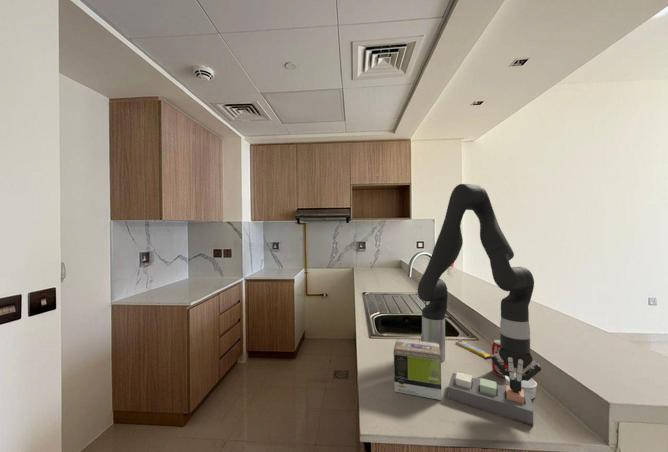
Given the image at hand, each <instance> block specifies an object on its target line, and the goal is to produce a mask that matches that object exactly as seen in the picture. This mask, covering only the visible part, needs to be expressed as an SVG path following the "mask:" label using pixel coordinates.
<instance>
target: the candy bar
mask: <svg viewBox="0 0 668 452" xmlns="http://www.w3.org/2000/svg"><path fill="white" fill-rule="evenodd" d="M455 345H457V346H459V347H461V348H463V349H465V350H467V351H469V352H471V353H473V354H475V355H478V356H480V357H481V358H489V357H492V354H490V353H488V352H486V351H484V350H482V349H479V348H478V347H475V346H473V345H471V344H468V343H466V342H463V341H462V340H457V341H455Z"/></svg>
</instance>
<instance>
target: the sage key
mask: <svg viewBox="0 0 668 452" xmlns="http://www.w3.org/2000/svg"><path fill="white" fill-rule="evenodd" d="M479 380H480V392H483V393H486V394H490V395H493V396H497V388H496V384H497V381H494V380H490V379H487V378H482V377H480V379H479Z"/></svg>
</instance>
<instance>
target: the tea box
mask: <svg viewBox="0 0 668 452" xmlns="http://www.w3.org/2000/svg"><path fill="white" fill-rule="evenodd" d="M393 379H394V381H393V383H394V385H393V386H394V387H393V388H394V393H395V392H396V393H401V394H405V395H412V396H417V397H422V398H428V399H433V400H438V401H442V396H443V394H442V362H441V355H440V348H439V343H434V342H425V341H421V340H414V339H406V338H399V337H398V338H396V340H395V344H394V348H393Z"/></svg>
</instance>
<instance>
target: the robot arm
mask: <svg viewBox="0 0 668 452" xmlns="http://www.w3.org/2000/svg"><path fill="white" fill-rule="evenodd" d="M466 211H473V213H474V214H475V216H476V217H477V218H478V222H479V239H480V243H481V246H482V247H483V249H484V251H485V253H486V255H487V257H488V259H489V264H490V269H491V272H492V273H491V274H492V278H493V281H494V283H495V284H496V286H497V287H498V288H500V290H502V291H504V292H508V293H509V294H508V295H507V296H505V297H504V298H502V299H501V300H500V321H499V334H500V336H499V339H500V349H499V353H497V354H492V353H491V356H490V357H491V362H492V361H493V362H494V363H495V364H496V366H497V367H498V368H499V370H500V371H501V372H502V374H503V375H504V376H508V377H509V378H510V389H512V390H513V392H516V393H519V391H520V392H521V381H522V380H525V381H529V380H530V379H533V377H535V376H536V375H537V374H538V373H539V372H541V370H542V366H541V364H540V362H539V363H538V362H536V361H535V360H534V359H533V355H532V354H531V327H530V326H531V325H530V318H529V317H530V315H529V314H530V310H529V305H530V304H531V303H530V302H531V299H532V296H533V293H534V288H535V279H534V276H533V274H532V272H531V270H530V269H528V268H527V267H523V266H511V264H510V261H511V260H512V259H513V258H514V257H515V252H514V250H513V248H512V247H511V245H510V243H509V242H508V239H507V237H506V236H505V235H504V233H503V231H502V228H501V227H500V225H499V222H498V219H497V216H496V214H495V210H494V209H493V206H492V202H491V199H490V196H489V195H488V192H487V190H486V189H485V188H484V187H483V186H482V185H479V184H478V185H477V184H470V183H469V184H468V183H460V184H458V185H456V186H455V187H454V188H453V190H452V191H451V194H450V197H449V201H448V205H447V209H446V212H445V216H444V220H443V223H442V226H441V229H440V231H439V235H438V237H437V239H436V242H435V244H434V248H433V250H432V253H431V256H430V259H429V261H428V262H427V263H428V264H427V267H426V269H425V270H424V272H423V274H422V277H421V278H420V280H419V283H418V284H417V295H418V298H419V299H420V300H421V301H422V302H426V303H427V302H428V304H427V305H426V306H424V307H423V308H422V309H421V334H420V341H425V342H434V343H439V348H440V355H441V363H443V362H444V361H445V360H446V314H447V310H448V295H449V294H448V287H447V284H446V282H445V281H444V280H443V279H441V277H442V275H443V274H444V273H445V272H446V271H447V270H448V269H449V268H450V267H452V265H453V264H454V263H455V262H456V261H457V259H458V257H459V254H460V251H461V250H462V247H463V244H464V243H463V239H464V238H463V234H462V228H461V224H462V220H463V216H464V214H465V213H466ZM500 357H501V358H502V359H503V361H504V362H505V363H506V365H507V366H509V371H508V370H507V369H506V368H505V367H504V365H503V364H502V363H501V358H500ZM528 366H530V367H529V368H528V369H527V370H526V371H525V372H524V373H523V370H524V369H526V368H527V367H528ZM515 369H516V371H515ZM514 373H516V377H514Z"/></svg>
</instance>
